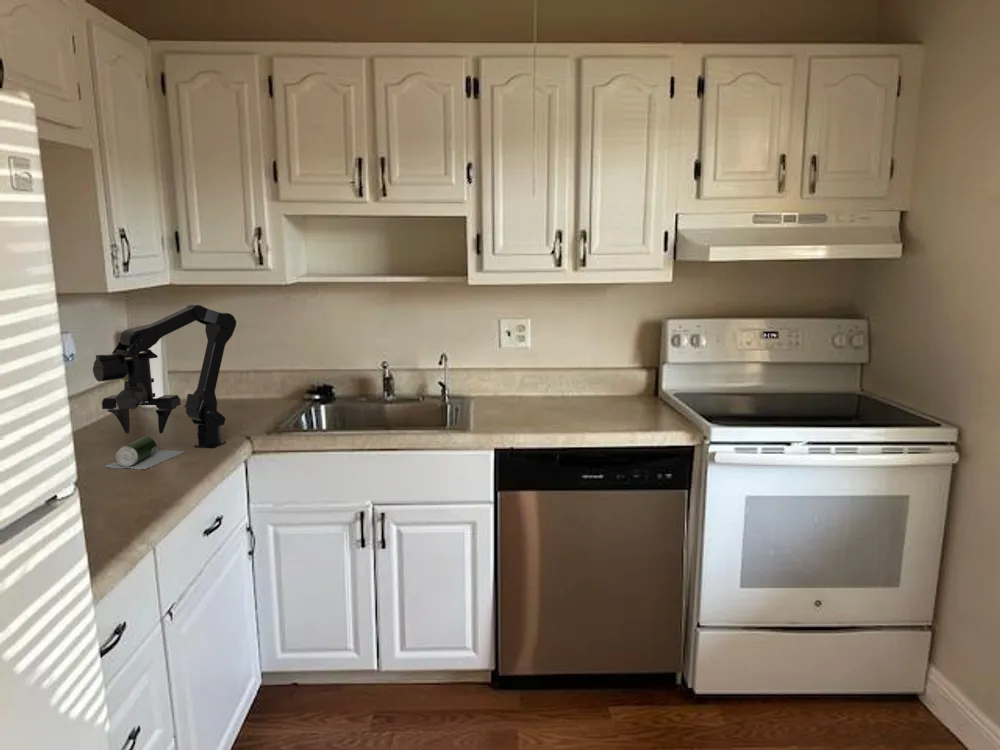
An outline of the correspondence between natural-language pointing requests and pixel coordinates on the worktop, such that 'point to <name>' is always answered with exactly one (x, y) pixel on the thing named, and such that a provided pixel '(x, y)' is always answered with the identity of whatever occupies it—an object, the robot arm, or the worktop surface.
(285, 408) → the worktop surface
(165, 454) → the grey mat
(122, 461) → the beer can
